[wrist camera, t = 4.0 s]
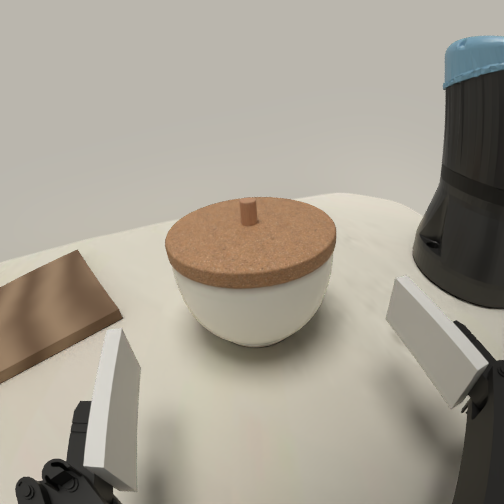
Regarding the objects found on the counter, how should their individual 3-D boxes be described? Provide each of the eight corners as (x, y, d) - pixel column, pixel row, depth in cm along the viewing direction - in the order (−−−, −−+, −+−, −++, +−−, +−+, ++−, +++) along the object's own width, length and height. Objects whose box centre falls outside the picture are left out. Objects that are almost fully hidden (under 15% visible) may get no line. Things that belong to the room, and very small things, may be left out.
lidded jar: (203, 392, 17) (164, 262, 12) (179, 295, 26) (156, 192, 21) (355, 342, 19) (376, 215, 15) (292, 267, 28) (290, 169, 24)
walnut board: (79, 256, 34) (77, 249, 33) (122, 318, 23) (118, 309, 23) (-20, 306, 24) (-23, 299, 24) (-21, 394, 14) (-28, 386, 14)
